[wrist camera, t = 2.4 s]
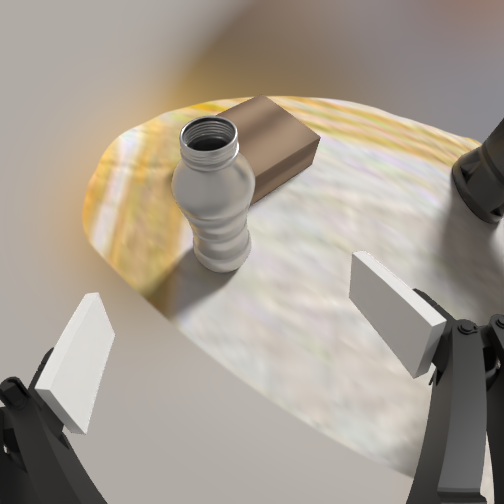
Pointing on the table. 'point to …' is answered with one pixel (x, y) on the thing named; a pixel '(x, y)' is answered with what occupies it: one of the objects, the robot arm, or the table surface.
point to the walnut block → (271, 142)
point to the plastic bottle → (214, 192)
